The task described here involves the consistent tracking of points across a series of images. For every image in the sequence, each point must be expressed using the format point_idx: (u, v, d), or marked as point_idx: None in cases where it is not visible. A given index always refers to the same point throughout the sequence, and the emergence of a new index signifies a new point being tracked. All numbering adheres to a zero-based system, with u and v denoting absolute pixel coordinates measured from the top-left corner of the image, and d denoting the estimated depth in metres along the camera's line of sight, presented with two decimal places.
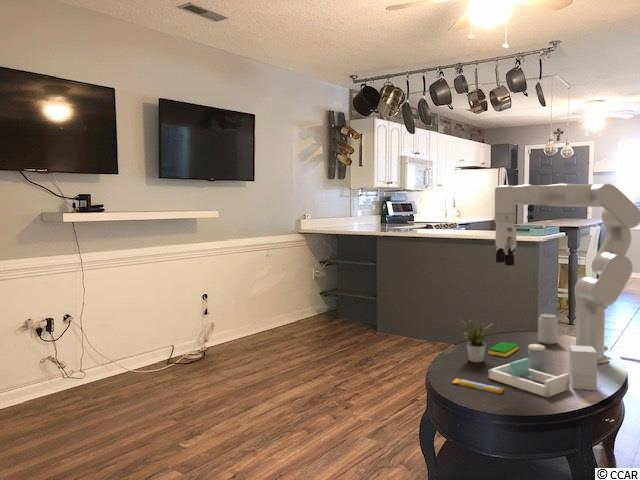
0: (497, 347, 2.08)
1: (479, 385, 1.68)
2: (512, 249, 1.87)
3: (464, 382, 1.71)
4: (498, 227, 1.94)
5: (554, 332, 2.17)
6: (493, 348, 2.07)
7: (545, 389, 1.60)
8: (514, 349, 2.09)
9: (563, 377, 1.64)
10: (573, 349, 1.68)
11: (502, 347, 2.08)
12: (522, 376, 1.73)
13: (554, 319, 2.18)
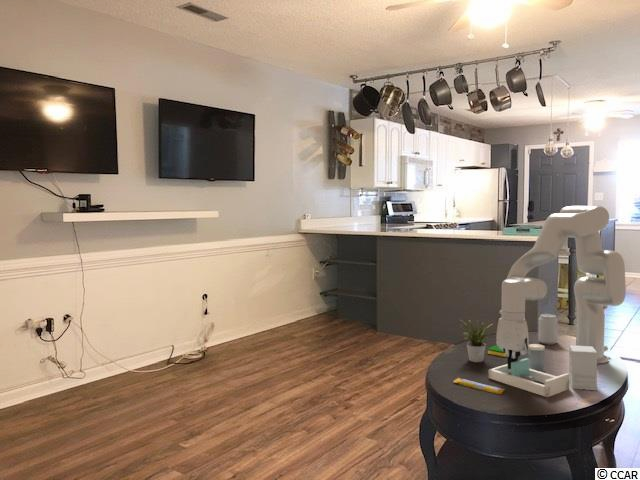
0: (497, 347, 2.08)
1: (479, 385, 1.68)
2: None
3: (465, 382, 1.71)
4: None
5: (554, 332, 2.17)
6: (492, 348, 2.07)
7: (545, 389, 1.60)
8: None
9: (563, 377, 1.64)
10: (573, 349, 1.67)
11: None
12: (522, 376, 1.73)
13: (554, 319, 2.18)
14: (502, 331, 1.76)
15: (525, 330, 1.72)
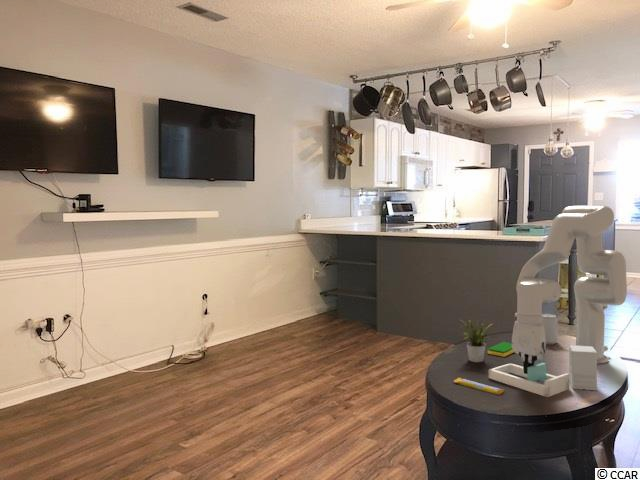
0: (497, 347, 2.08)
1: (479, 385, 1.68)
2: None
3: (465, 382, 1.72)
4: None
5: (554, 332, 2.17)
6: (492, 348, 2.07)
7: (545, 389, 1.60)
8: None
9: (563, 377, 1.64)
10: (573, 349, 1.67)
11: (502, 347, 2.08)
12: (539, 381, 1.68)
13: (554, 319, 2.18)
14: (518, 334, 1.71)
15: (542, 334, 1.67)
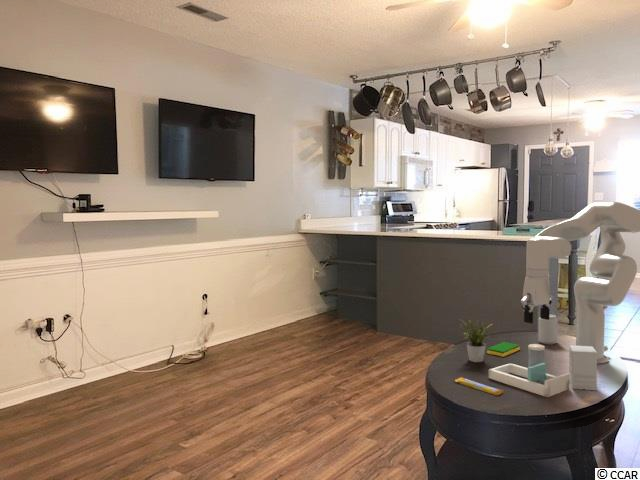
0: (496, 347, 2.09)
1: (478, 385, 1.68)
2: None
3: (465, 381, 1.72)
4: (543, 283, 1.81)
5: (554, 332, 2.17)
6: (492, 348, 2.07)
7: (545, 389, 1.60)
8: (514, 349, 2.08)
9: (563, 377, 1.64)
10: (573, 349, 1.67)
11: (501, 347, 2.08)
12: (539, 381, 1.68)
13: (554, 319, 2.18)
14: None
15: (529, 286, 1.80)
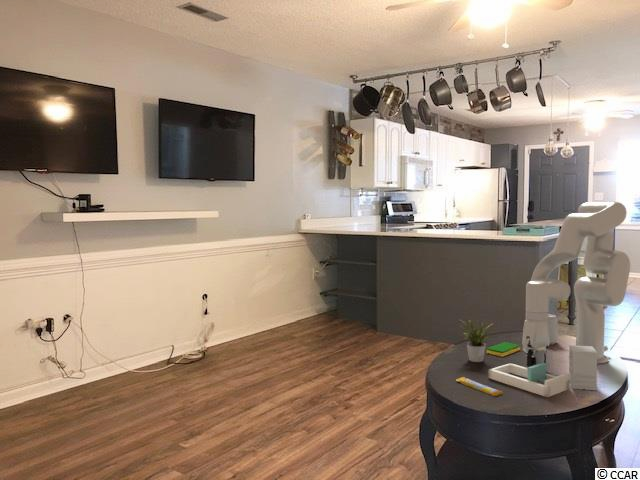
0: (496, 347, 2.09)
1: (478, 385, 1.68)
2: None
3: (466, 381, 1.72)
4: (543, 326, 1.82)
5: (554, 332, 2.17)
6: (491, 347, 2.08)
7: (545, 389, 1.60)
8: (514, 349, 2.08)
9: (563, 377, 1.64)
10: (573, 349, 1.67)
11: (501, 347, 2.08)
12: (539, 381, 1.68)
13: (554, 319, 2.18)
14: None
15: (528, 329, 1.81)
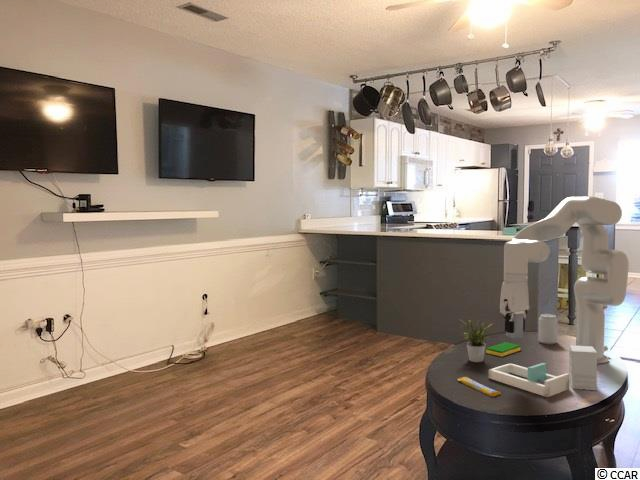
0: (496, 347, 2.09)
1: (477, 386, 1.68)
2: None
3: (466, 381, 1.72)
4: (521, 289, 1.72)
5: (554, 332, 2.17)
6: (491, 347, 2.08)
7: (545, 389, 1.60)
8: (514, 350, 2.08)
9: (563, 377, 1.64)
10: (573, 349, 1.68)
11: (501, 347, 2.08)
12: (539, 381, 1.68)
13: (554, 319, 2.18)
14: None
15: (506, 291, 1.72)
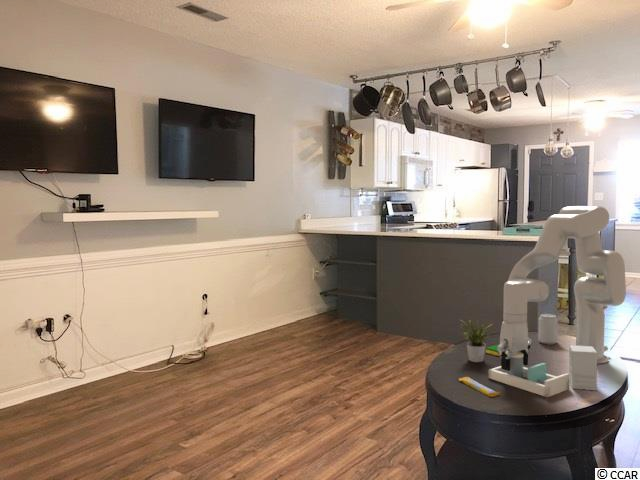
0: (496, 346, 2.09)
1: (477, 386, 1.68)
2: None
3: (467, 381, 1.72)
4: (521, 329, 1.73)
5: (554, 332, 2.17)
6: (491, 347, 2.08)
7: (545, 389, 1.60)
8: None
9: (563, 377, 1.64)
10: (573, 349, 1.68)
11: None
12: (539, 381, 1.68)
13: (554, 319, 2.18)
14: None
15: (506, 331, 1.73)
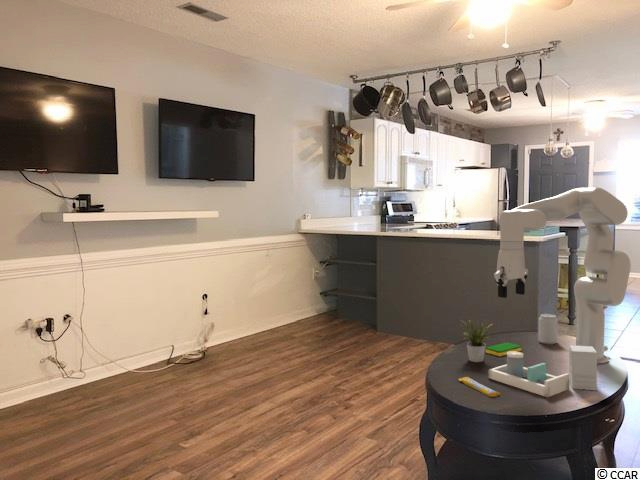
0: (496, 346, 2.09)
1: (477, 386, 1.67)
2: None
3: (467, 381, 1.72)
4: (517, 257, 1.75)
5: (554, 332, 2.17)
6: (490, 347, 2.08)
7: (545, 389, 1.60)
8: (514, 350, 2.08)
9: (563, 377, 1.64)
10: (573, 349, 1.68)
11: (501, 347, 2.08)
12: (539, 381, 1.68)
13: (554, 319, 2.18)
14: None
15: (502, 259, 1.74)
